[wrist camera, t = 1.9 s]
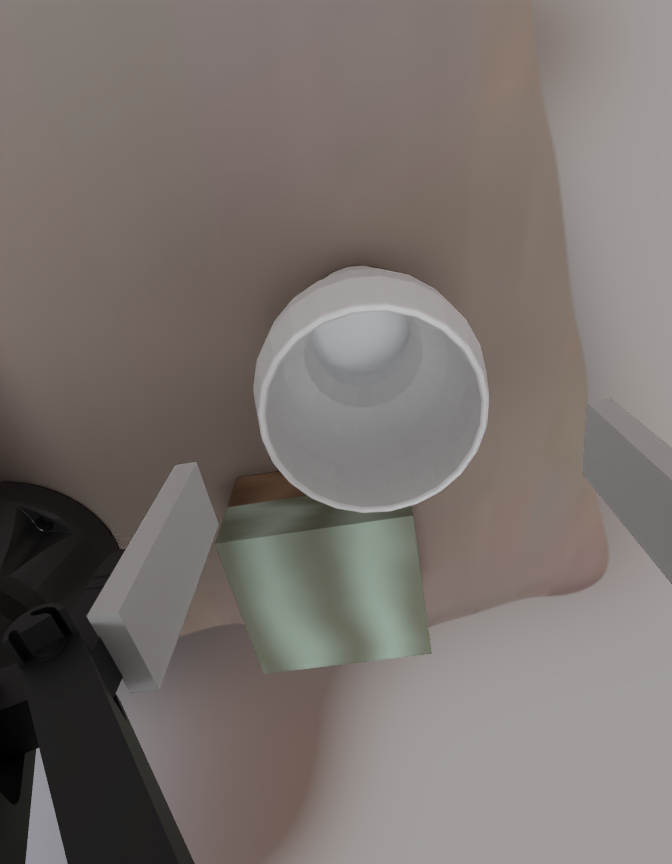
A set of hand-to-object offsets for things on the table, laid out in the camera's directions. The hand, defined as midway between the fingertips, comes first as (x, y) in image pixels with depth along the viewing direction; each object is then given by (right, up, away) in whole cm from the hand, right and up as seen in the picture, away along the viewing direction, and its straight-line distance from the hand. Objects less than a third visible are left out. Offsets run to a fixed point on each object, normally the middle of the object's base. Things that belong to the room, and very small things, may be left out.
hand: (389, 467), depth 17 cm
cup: (0, +9, +17) cm, 19 cm away
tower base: (-2, -7, +25) cm, 26 cm away
